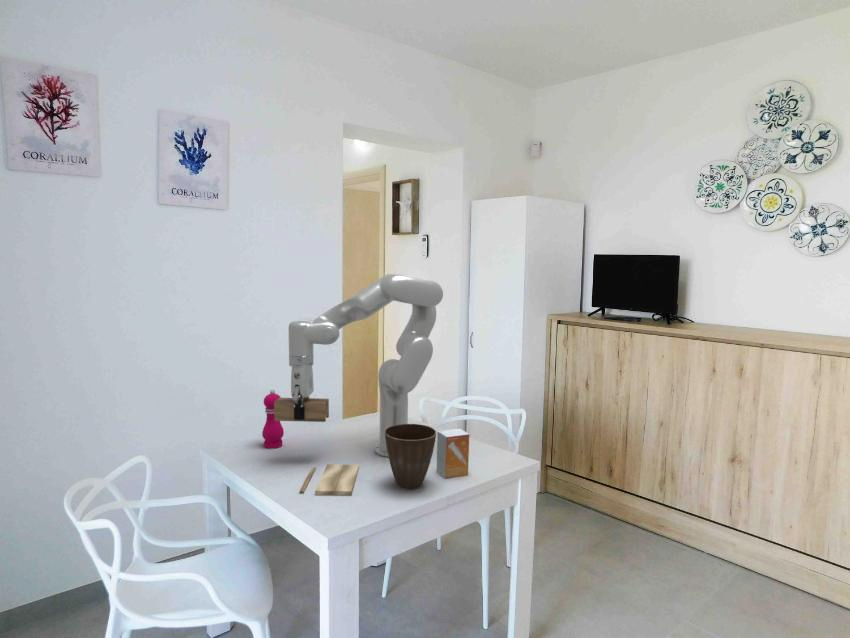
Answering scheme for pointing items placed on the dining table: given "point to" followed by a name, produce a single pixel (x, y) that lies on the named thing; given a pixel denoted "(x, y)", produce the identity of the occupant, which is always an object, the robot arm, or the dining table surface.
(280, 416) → the brown wooden block
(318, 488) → the board
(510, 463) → the dining table surface
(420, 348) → the robot arm
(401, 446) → the plant pot
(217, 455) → the dining table surface
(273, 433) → the pepper mill
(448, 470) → the small box
